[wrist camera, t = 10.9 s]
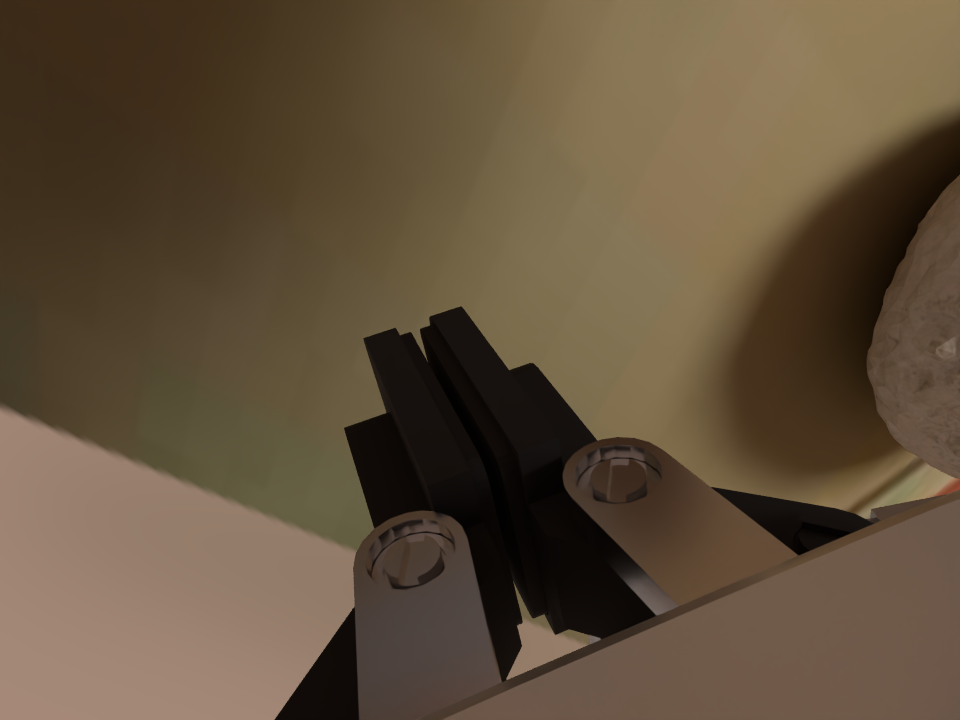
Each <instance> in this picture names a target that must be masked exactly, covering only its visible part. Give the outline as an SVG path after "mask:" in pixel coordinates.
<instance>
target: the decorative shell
mask: <svg viewBox="0 0 960 720" xmlns="http://www.w3.org/2000/svg"><path fill="white" fill-rule="evenodd" d="M867 374H868V378H869V380H870V382H871V384H872V386H873V390H874V395H875V400H876V409H877V412H878V414H879V415H880V416H881V418H882V419H883V420H884V421H885V423H886V425H887V427H888V430H889V432H890V434H891V435H892V436H893V438H894V439H895V440H896V441H897V442H898V443H899V444H900V445H901V446H902V447H903V448H905V449H906V450H907V451H909V452H911V453H913V454H915V455H917V456H918V457H920V458H922V459H923V460H924V461H925V462H926V463H928V464H929V465H930V466H932V467H934V468H936V469H938V470H940V471H942V472H944V473H946V474H948V475H950V476H952V477H954V478H958V479H960V175H959V176H958V177H957V178H956V179H955V180H954V181H953V182H952V183H950V184H949V185H948V186H947V187H946V188H945V190H944V191H943V192H942V193H941V194H940V196H939V197H938V199H937V201H936V202H935V203H934V205H933V206H932V207H931V208H930V210H929V211H928V212H927V214H926V216H925V218H924V219H923V220H922V221H921V222H920V223H919V224H918V230H917V233H916V234H915V236H914V238H913V239H912V241H911V242H910V244H909V245H908V247H907V250H906V256H905V258H904V259H903V260H902V261H901V263H900V264H899V265H898V267H897V269H896V272H895V275H894V277H893V280H892V283H891V284H890V286H889V287H888V288H887V290H886V293H885V296H884V299H883V306H882V309H881V312H880V315H879V317H878V320H877V322H876V325H875V327H874V333H873V339H872V344H871V346H870V348H869V349H868V355H867Z"/></svg>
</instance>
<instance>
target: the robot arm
mask: <svg viewBox="0 0 960 720" xmlns="http://www.w3.org/2000/svg"><path fill="white" fill-rule="evenodd" d="M429 320H430V326H427V327H424V328H421V329H420V333H421V338H422V341H423V345H424V349H425V353H426V356H427V360H428V362H427V360H426V358H425V356H424V355H423V353H422V351H421V349H420V347H419V346H418V344H417V342H416V340H415V338H414V337H413V335H412V333H411V332H409V333H406V334H403V335H399V333H398V331H397V329H396V328H393V329H390V330H387V331H384V332H381V333H378V334H375V335H372V336H369V337H366V338H364V342H365V346H366V349H367V352H368V356H369V359H370V362H371V365H372V368H373V371H374V374H375V378H376V381H377V384H378V387H379V390H380V393H381V397H382V400H383V403H384V406H385V409H386V412H387V413H385V414H382V415H380V416H377V417H374V418H371V419H368V420H365V421H362V422H360V423H357V424H354V425H351V426H348V427H345V428H344V430H345V433H346V437H347V440H348V443H349V447H350V450H351V453H352V456H353V460H354V463H355V466H356V470H357V473H358V476H359V480H360V483H361V486H362V489H363V493H364V496H365V499H366V503H367V506H368V509H369V512H370V516H371V519H372V522H373V526H374V530H373V531H372V532H371V533H370V534H369V535H368V536H367V537H366V538H365V539H364V540H363V541H362V543H361V545H360V547H359V549H358V551H357V552H356V556H355V561H354V567H353V572H354V597H355V607H354V608H353V609H352V611H351V612H350V614H349V615H348V617H347V618H346V620H345V621H344V622H343V624H342V625H341V626H340V628H339V629H338V631H337V632H336V634H335V635H334V636H333V638H332V639H331V641H330V642H329V643H328V645H327V646H326V648H325V649H324V650H323V652H322V653H321V655H320V656H319V657H318V659H317V660H316V662H315V663H314V665H313V666H312V668H311V669H310V670H309V672H308V673H307V674H306V676H305V678H304V679H303V680H302V682H301V683H300V684H299V686H298V687H297V689H296V690H295V692H294V693H293V694H292V696H291V697H290V699H289V700H288V701H287V703H286V704H285V706H284V707H283V709H282V710H281V711H280V713H279V714H278V716H277V717H276V719H275V720H960V490H957V491H955V492H952V493H950V494H946V495H941V496H936V497H931V498H926V499H921V500H916V501H910V502H905V503H900V504H895V505H890V506H885V507H880V508H875V509H871V515H870V519H864V518H862V517H860V516H858V515H856V514H854V513H850V512H847V511H843V510H839V509H836V508H830V507H824V506H819V505H813V504H807V503H801V502H795V501H790V500H784V499H778V498H772V497H766V496H761V495H755V494H749V493H743V492H738V491H732V490H726V489H720V488H714V487H710V486H708V485H707V484H706V483H705V482H703V481H702V480H701V479H699V478H698V477H697V476H696V475H694V474H693V473H692V472H690V471H689V470H688V469H687V468H685V467H684V466H683V465H681V464H680V463H679V462H678V461H676V460H675V459H674V458H672V457H671V456H670V455H669V454H667V453H666V452H665V451H663V450H662V449H660V448H659V447H657V446H655V445H653V444H652V443H650V442H647V441H643V440H639V439H636V438H623V437H616V438H609V439H602V440H599V441H597V440H596V438H595V437H594V436H593V435H592V433H591V432H590V431H589V430H588V429H587V427H586V426H585V425H584V424H583V422H582V421H581V420H580V419H579V417H578V416H577V415H576V414H575V413H574V411H573V410H572V409H571V408H570V406H569V405H568V404H567V403H566V402H565V400H564V399H563V398H562V397H561V395H560V394H559V393H558V392H557V390H556V389H555V388H554V387H553V386H552V384H551V383H550V382H549V381H548V379H547V378H546V377H545V376H544V375H543V373H542V372H541V371H540V370H539V368H538V367H537V366H536V365H535V364H534V363H529V364H526V365H523V366H520V367H517V368H514V369H512V370H508V368H507V367H506V365H505V364H504V363H503V361H502V360H501V359H500V357H499V356H498V355H497V353H496V352H495V351H494V349H493V348H492V347H491V345H490V344H489V343H488V341H487V340H486V338H485V337H484V336H483V334H482V333H481V332H480V330H479V329H478V328H477V326H476V325H475V324H474V322H473V321H472V320H471V318H470V317H469V316H468V314H467V313H466V311H465V310H464V309H463V308H462V307H457V308H454V309H451V310H448V311H445V312H442V313H439V314H436V315H433V316H430V317H429ZM513 581H514V583H515V585H516V587H517V589H518V591H519V593H520V595H521V597H522V599H523V601H524V603H525V605H526V607H527V609H528V611H529V613H530V615H531V617H532V618H536V617H538V616H541V615H543V614H545V616H546V618H547V620H548V622H549V624H550V626H551V628H552V630H553V632H554V634H555V635H556V634H559V633H561V632H563V631H566V630H568V629H570V630H574V631H577V632H581V633H584V634H588V635H589V637H590V643H591V644H590V645H588V646H585V647H583V648H581V649H578V650H576V651H574V652H572V653H569V654H567V655H564V656H562V657H560V658H557V659H555V660H553V661H550V662H548V663H546V664H543V665H541V666H539V667H537V668H534V669H532V670H529V671H527V672H525V673H523V674H520V675H518V676H515V677H513V678H511V679H509V680H506V678H507V676H508V674H509V672H510V670H511V668H512V665H513V664H514V661H515V659H516V657H517V655H518V653H519V651H520V649H521V647H522V645H521V640H520V636H519V632H518V628H517V625H519V624H522V622H523V621H522V616H521V612H520V608H519V604H518V600H517V596H516V591H515V587H514V583H513Z"/></svg>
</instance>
